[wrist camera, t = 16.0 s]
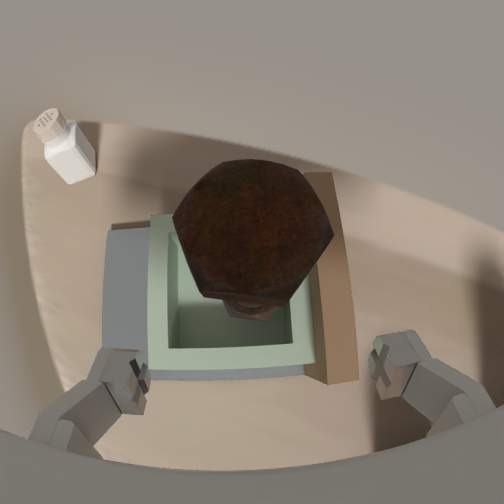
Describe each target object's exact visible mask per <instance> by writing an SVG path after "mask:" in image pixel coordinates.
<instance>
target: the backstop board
mask: <svg viewBox="0 0 504 504" xmlns="http://www.w3.org/2000/svg"><path fill="white" fill-rule="evenodd" d="M303 176H304V177H305V178H306V179H307V181H308V182H309V183H310V185H311V186H312V188H313V189H314V191H315V193H316V194H317V196H318V198H319V199H320V201H321V203H322V205H323V207H324V209H325V211H326V214H327V216H328V218H329V221H330V224H331V227H332V230H333V232H334V237H333V238H332V240H331V242H330V243H329V245H328V246H327V248H326V249H325V251H324V252H323V254H322V255H321V256H320V258H319V259H318V261H317V262H316V264H315V265H314V267H313V268H312V269H311V271H310V272H309V283H310V293H311V303H312V314H313V326H314V338H315V352H316V363H309V364H300V365H289V366H277V367H263V368H247V369H222V370H154V369H149V372H150V380H176V381H211V380H242V379H260V378H274V377H286V376H297V375H306V376H309V377H311V378H313V379H315V380H318V381H320V382H322V383H325V384H327V385H330V384H337V383H343V382H350V381H356V380H359V366H358V352H357V340H356V329H355V319H354V309H353V301H352V292H351V284H350V276H349V269H348V262H347V255H346V249H345V242H344V236H343V230H342V224H341V218H340V213H339V207H338V202H337V197H336V192H335V186H334V182H333V177H332V173H331V172H319V173H304V175H303ZM149 236H150V227H145V228H132V229H120V230H108V234H107V244H106V255H105V268H104V284H103V310H102V347H103V348H118V349H132V350H141V351H142V353H143V355H144V361H143V363H144V364H146V365H147V366H148V368H149V364H148V332H147V289H148V256H149Z"/></svg>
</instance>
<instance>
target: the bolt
mask: <svg viewBox="0 0 504 504" xmlns="http://www.w3.org/2000/svg"><path fill="white" fill-rule="evenodd" d="M172 219H173V223H174V227H175V230H176V233H177V236H178V239H179V242H180V245H181V248H182V251H183V253H184V256H185V259H186V262H187V264H188V267H189V269H190V272H191V274H192V277H193V279H194V281H195V283H196V286H197V288H198V290H199V292H200V293H201V295H202V296H203V297H204V298H212V299H219V300H222V301H223V303H224V306H225V308H226V310H227V313H228V315H229V316H230V317H234V318H240V319H248V320H257V321H268V319H269V318H270V317H271V315H272V314H273V313H274V311H275V310H276V309H277V307H285V306H286V304H287V303H288V302H289V300H290V299H291V298H292V296H293V295H294V293H295V292H296V291H297V289H298V288H299V287H300V285H301V284H302V282H303V281H304V279H305V278H306V277H307V275H308V274H309V272H310V271H311V269H312V268H313V267H314V265H315V264H316V262H317V261H318V259H319V258H320V256H321V255H322V254H323V252H324V251H325V249H326V248H327V246H328V245H329V243H330V242H331V240H332V238H333V237H334V232H333V230H332V227H331V224H330V221H329V218H328V216H327V214H326V211H325V209H324V207H323V205H322V203H321V201H320V199H319V198H318V196H317V194H316V193H315V191H314V189H313V188H312V186H311V185H310V183H309V182H308V181H307V179H306V178H305V177H304V176H303V175H302V174H301V173H300V172H299V171H298V170H296V169H294V168H291V167H288V166H286V165H283V164H279V163H275V162H271V161H264V160H255V159H245V160H234V161H228V162H222V163H221V164H219V165H218V166H216V167H214V168H213V169H211V170H210V171H209V172H208V173H207V174H205V175H204V176H203V177H202V178H201V179H200V180H199V181H198V182H197V183H196V184H195V185H194V186H193V187H192V189H191V190H190V191H189V192H188V194H187V195H186V196H185V198H184V199H183V200H182V202H181V203H180V205H179V207H178V208H177V210H176V212H175V213H174V215H173V217H172Z"/></svg>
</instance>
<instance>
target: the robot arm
mask: <svg viewBox="0 0 504 504" xmlns="http://www.w3.org/2000/svg"><path fill="white" fill-rule="evenodd" d="M373 345H374V347H375V349H374V350H373V351H372V352H371V353H370V356H369V370H370V374H371V376H372V378H374V379H375V380H377V384H376V389H377V391H378V394H379V396H380V398H381V400H384V399H389V398H394V397H399V396H402V398H403V399H404V400H406V401H407V402H408V403H409V404H410V405H412V406H413V407H414V408H415V409H416V410H418V411H419V412H420V413H421V414H422V415H424V416H425V417H426V418H427V419H428V420H430V421H431V422H432V423H433V424H434V425H433V426H432V428H431V429H430V430H429V432H428V433H427V435H426V438H423V439H420V440H417V441H414V442H411V443H408V444H404V445H401V446H397V447H394V448H390V449H387V450H383V451H379V452H375V453H371V454H366V455H362V456H357V457H353V458H348V459H342V460H337V461H331V462H325V463H319V464H312V465H305V466H296V467H287V468H276V469H263V470H240V471H205V470H183V469H169V468H158V467H149V466H141V465H134V464H127V463H121V462H115V461H109V460H104V459H103V457H102V456H101V454H100V453H99V452H98V451H97V450H96V449H95V448H94V447H93V446H94V444H95V443H96V442H97V441H98V440H99V439H100V438H101V437H102V436H103V435H104V434H105V433H106V431H107V430H108V429H109V428H110V427H111V426H112V425H113V424H114V423H115V422H116V421H117V419H118V418H119V417H120V416H121V415H122V414H133V415H143V414H144V410H145V406H146V401H147V400H146V398H145V396H144V395H145V394H146V393H147V392H148V391H149V388H150V372H149V368H148V366H147V365H146V364H144V363H143V361H144V355H143V353H142V351H141V350H132V349H118V348H103V347H102V348H101V349H100V350H99V352H98V354H97V356H96V358H95V361H94V363H93V365H92V368H91V370H90V372H89V375H88V377H87V380H82V381H81V382H79V383H78V384H77V385H75V386H74V387H73V388H71V389H70V390H69V391H67V392H66V393H65V394H63V395H62V396H61V397H59V398H58V399H57V400H55V401H54V402H53V403H51V404H50V405H49V406H47V407H46V408H45V409H43V410H42V411H41V412H40V413H39V415H38V417H37V420H36V422H35V424H34V427H33V429H32V431H31V434H30V436H29V439H26V438H23V437H20V436H18V435H15V434H12V433H10V432H7V431H4V430H2V429H0V504H504V405H502V406H500V407H498V408H496V407H495V405H494V403H493V401H492V400H491V398H490V396H489V395H488V393H487V391H486V390H485V388H484V387H483V385H482V384H480V383H479V382H477V381H475V380H473V379H471V378H470V377H468V376H466V375H464V374H463V373H461V372H459V371H457V370H456V369H454V368H452V367H450V366H449V365H447V364H445V363H443V362H442V361H440V360H438V359H433V358H432V357H431V355H430V353H429V352H428V350H427V349H426V347H425V345H424V344H423V342H422V341H421V339H420V337H419V336H418V334H417V333H416V331H414V330H409V331H403V332H398V333H392V334H386V335H380V336H376V338H375V339H374V342H373Z"/></svg>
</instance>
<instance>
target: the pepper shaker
mask: <svg viewBox="0 0 504 504" xmlns="http://www.w3.org/2000/svg"><path fill="white" fill-rule="evenodd" d="M33 129H34V132H35V133H36V135H37V136H38V137H39V138H40V140H41V141H42V142H43V143H45V150H44V154H45V158H46V160H47V161H48V162H49V164H50V165H51V166H52V167H53V168H54V169H55V170H56V171H57V172H58V174H59V175H60V176H61V177H62V178H63V179H64V180H65V181H66V182H67V183H68V184H74V183H77V182H79V181H82V180H84V179H87V178H89V177H92V176H94V175H95V173H96V162H95V150H94V149H93V147H92V146H91V144H90V143H89V141H88V140H87V138H86V137H85V135H84V134H83V132H82V131H81V129H80V128H79V126H78V124H77V123H75V122H71V123H66V120H65V119H64V117H63V116H62V114H61V113H60V111H59V110H58V109H56V108H51V109H47V110H46V111H45V112H43V113H42V114H41V115H40V116H39V117H38V118H37V119H36V121H35V123H34V125H33Z"/></svg>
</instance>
